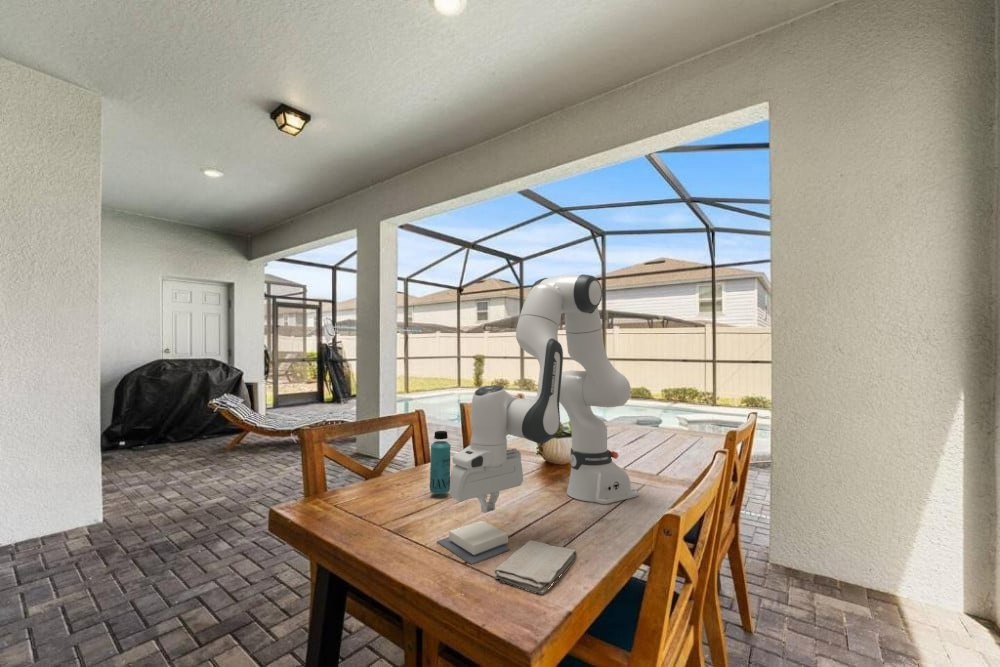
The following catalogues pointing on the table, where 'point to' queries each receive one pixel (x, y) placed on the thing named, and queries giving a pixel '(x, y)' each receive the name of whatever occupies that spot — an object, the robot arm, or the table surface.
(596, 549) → the table surface
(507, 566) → the washcloth
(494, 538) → the tile
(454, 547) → the mat
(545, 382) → the robot arm
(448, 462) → the beverage bottle
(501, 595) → the table surface
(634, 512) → the table surface
